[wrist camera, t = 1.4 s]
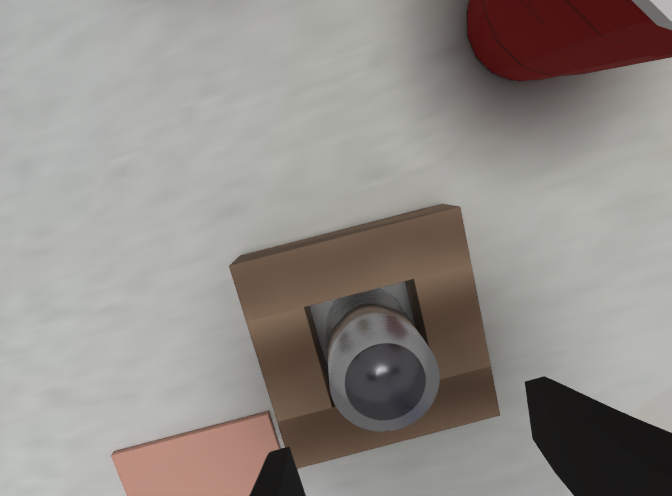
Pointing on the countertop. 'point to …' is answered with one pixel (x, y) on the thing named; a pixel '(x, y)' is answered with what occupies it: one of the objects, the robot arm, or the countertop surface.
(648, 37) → the plastic cup
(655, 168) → the countertop surface
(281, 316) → the socket block
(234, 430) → the rubber mat
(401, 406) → the metal plug
